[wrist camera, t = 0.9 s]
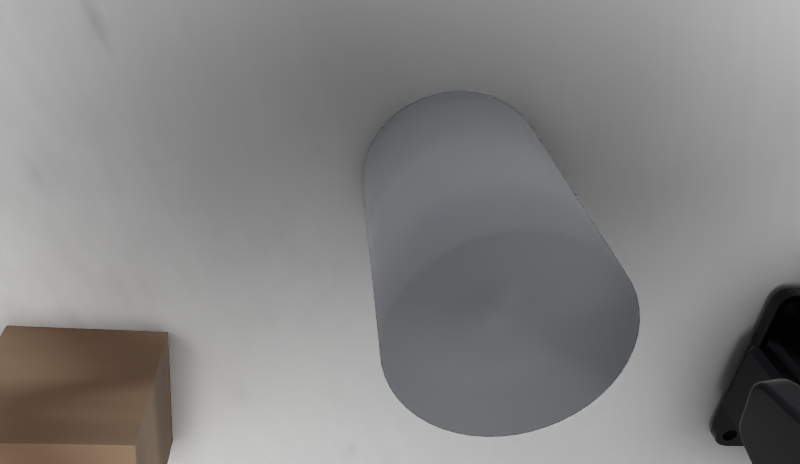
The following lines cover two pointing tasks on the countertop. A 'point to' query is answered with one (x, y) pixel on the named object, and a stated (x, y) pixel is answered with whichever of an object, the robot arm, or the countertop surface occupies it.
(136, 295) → the countertop surface
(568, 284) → the grey cylinder
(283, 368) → the countertop surface
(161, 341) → the walnut block
